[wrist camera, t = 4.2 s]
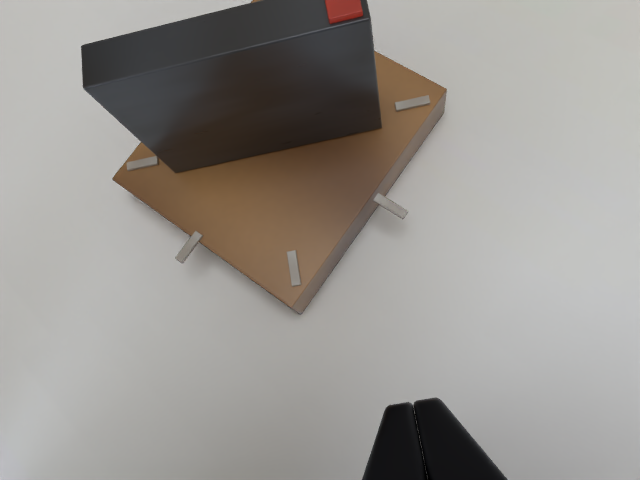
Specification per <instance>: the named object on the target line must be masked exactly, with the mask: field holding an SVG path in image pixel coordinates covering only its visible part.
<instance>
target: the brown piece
mask: <svg viewBox="0 0 640 480" xmlns="http://www.w3.org/2000/svg"><path fill="white" fill-rule="evenodd" d="M257 1H261V0H253V1H252V2H251V3H253V2H257ZM374 54H375V63H376V73H377V82H378V92H379V101H380V110H381V120H382V128H379V129H374V130H370V131H365V132H361V133H356V134H352V135H347V136H342V137H338V138H333V139H329V140H324V141H320V142H315V143H310V144H306V145H301V146H297V147H292V148H288V149H283V150H279V151H274V152H269V153H265V154H260V155H256V156H251V157H247V158H242V159H237V160H233V161H228V162H224V163H219V164H215V165H210V166H205V167H201V168H196V169H192V170H187V171H183V172H178V173H175V172H173V171H172V170H171V169H170V168H169V167H168V166H167V165H166V164H165V163H164V162H163V161H162V160H160V159H159V158H158V157H157V156H156V155H155V154H154V153H153V152H152V151H151V150H150V149H148V148H147V147H146V146H145V145H144V144H143V143H142V142H141V143H140V144H139V145H138V147H137V148H136V149H135V150H134V152H133V153H132V154H131V155H130V157H129V158H128V159H127V160H126V162H125V163H124V164H123V166H122V167H121V168H120V169H119V171H118V172H117V173H116V174H115V176H114V177H113V178H112V179H113V180H114V181H115V182H116V183H118V184H119V185H120V186H122V187H123V188H125V189H126V190H127V191H129V192H130V193H132V194H133V195H134V196H136V197H137V198H139V199H140V200H141V201H143V202H144V203H146V204H147V205H148V206H150V207H151V208H152V209H154V210H155V211H157V212H158V213H159V214H161V215H162V216H164V217H165V218H166V219H168V220H169V221H171V222H172V223H173V224H175V225H176V226H177V227H179V228H180V229H182V230H183V231H184V232H186V233H187V234H189V235H190V236H191V237H190V239H189V240H188V241H187V243H186V244H185V245H184V247H183V248H182V249H181V251H180V252H179V253H178V255H177V256H176V257H175V259H177V260H178V261H179V262H181V263H183V262H184V261H185V260H186V258H187V257H188V256H189V254H190V253H191V252H192V250H193V249H194V248H195V246H196V245H197V244H198V242H200V243H201V244H203V245H204V246H205V247H207V248H208V249H209V250H211V251H212V252H214V253H215V254H216V255H218V256H219V257H221V258H222V259H223V260H225V261H226V262H228V263H229V264H230V265H232V266H233V267H234V268H236V269H237V270H239V271H240V272H241V273H243V274H244V275H246V276H247V277H248V278H250V279H251V280H253V281H254V282H255V283H257V284H258V285H260V286H261V287H262V288H264V289H265V290H266V291H268V292H269V293H271V294H272V295H273V296H275V297H276V298H278V299H279V300H280V301H282V302H283V303H285V304H286V305H287V306H289V307H290V308H292V309H293V310H295V311H296V312H297V313H299V314H302V312H303V311H304V310H305V308H306V307H307V305H308V304H309V302H310V301H311V300H312V298H313V297H314V295H315V294H316V293H317V291H318V290H319V288H320V287H321V286H322V284H323V283H324V281H325V280H326V278H327V277H328V276H329V274H330V273H331V271H332V270H333V269H334V267H335V266H336V264H337V263H338V261H339V260H340V259H341V257H342V256H343V254H344V253H345V252H346V250H347V249H348V247H349V246H350V244H351V243H352V242H353V240H354V239H355V237H356V236H357V235H358V233H359V232H360V230H361V229H362V228H363V226H364V225H365V223H366V222H367V220H368V219H369V218H370V216H371V215H372V213H373V212H374V211H375V209H376V208H377V206H378V205H380V206H382V207H384V208H385V209H387V210H389V211H390V212H392V213H393V214H395V215H397V216H398V217H400V218H401V219H404V217H405V216H406V215H407V213H408V211H407V210H405V209H404V208H402V207H401V206H399V205H397V204H396V203H394V202H392V201H391V200H389V199H387V198H386V197H384V196H385V195H386V194H387V192H388V191H389V189H390V188H391V187H392V185H393V184H394V182H395V181H396V179H397V178H398V177H399V175H400V174H401V172H402V171H403V170H404V168H405V167H406V165H407V164H408V162H409V161H410V160H411V158H412V157H413V155H414V154H415V153H416V151H417V150H418V148H419V147H420V145H421V144H422V143H423V141H424V140H425V138H426V137H427V136H428V134H429V133H430V131H431V130H432V129H433V127H434V126H435V124H436V123H437V121H438V120H439V119H440V117H441V116H442V114H443V113H444V108H445V100H446V91H447V89H446V88H444V87H442V86H440V85H438V84H436V83H434V82H432V81H431V80H429V79H427V78H425V77H423V76H421V75H419V74H417V73H415V72H413V71H412V70H410V69H408V68H406V67H404V66H402V65H400V64H398V63H396V62H394V61H393V60H391V59H389V58H387V57H385V56H383V55H381V54H379V53H377V52H376V51H374Z"/></svg>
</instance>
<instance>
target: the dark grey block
mask: <svg viewBox="0 0 640 480" xmlns="http://www.w3.org/2000/svg"><path fill="white" fill-rule="evenodd" d="M81 51H82V75H83V88H84V90H85V91H86V92H88V93H89V94H90V95H91V96H92V97H93V98H94V99H95V100H96V101H97V102H98V103H100V104H101V105H102V106H103V107H104V108H105V109H106V110H107V111H108V112H109V113H110V114H111V115H113V116H114V117H115V118H116V119H117V120H118V121H119V122H120V123H121V124H122V125H123V126H125V127H126V128H127V129H128V130H129V131H130V132H131V133H132V134H133V135H134V136H135V137H137V138H138V139H139V140H140V141H141V142H142V143H143V144H144V145H145V146H146V147H147V148H148V149H150V150H151V151H152V152H153V153H154V154H155V155H156V156H157V157H158V158H159V159H160V160H162V161H163V162H164V163H165V164H166V165H167V166H168V167H169V168H170V169H171V170H172V171H173V172H175V173H178V172H183V171H187V170H192V169H196V168H201V167H205V166H210V165H215V164H219V163H224V162H228V161H233V160H237V159H242V158H247V157H251V156H256V155H260V154H265V153H269V152H274V151H279V150H283V149H288V148H292V147H297V146H301V145H306V144H310V143H315V142H320V141H324V140H329V139H333V138H338V137H342V136H347V135H352V134H356V133H361V132H365V131H370V130H374V129H379V128H382V120H381V110H380V101H379V92H378V82H377V73H376V63H375V54H374V44H373V35H372V25H371V17H370V13H369V8H368V4H367V0H261V1H257V2H253V3H249V4H245V5H241V6H237V7H233V8H229V9H225V10H221V11H217V12H213V13H209V14H205V15H201V16H197V17H193V18H189V19H185V20H181V21H177V22H173V23H169V24H165V25H161V26H157V27H153V28H149V29H145V30H141V31H137V32H133V33H129V34H125V35H121V36H117V37H113V38H109V39H105V40H101V41H97V42H93V43H89V44H85V45H82V46H81Z"/></svg>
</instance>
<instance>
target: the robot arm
mask: <svg viewBox="0 0 640 480" xmlns="http://www.w3.org/2000/svg"><path fill="white" fill-rule="evenodd" d="M414 411H415V413H414ZM415 416H416V418H415ZM416 421H417V423H416ZM417 427H418V428H417ZM418 432H419V433H418ZM419 437H420V438H419ZM420 442H421V443H420ZM421 447H422V448H421ZM422 452H423V453H422ZM423 457H424V458H423ZM424 462H425V463H424ZM425 467H426V468H425ZM426 472H427V474H426ZM427 477H428V479H427ZM362 480H507V478H506V477H505V476H504V475H503V474H502V472H501V471H500V470H499V469H498V468H497V466H496V465H495V464H494V463H493V462H492V460H491V459H490V458H489V457H488V456H487V454H486V453H485V452H484V451H483V450H482V448H481V447H480V446H479V445H478V444H477V442H476V441H475V440H474V439H473V438H472V436H471V435H470V434H469V433H468V432H467V430H466V429H465V428H464V427H463V426H462V424H461V423H460V422H459V421H458V420H457V418H456V417H455V416H454V415H453V414H452V412H451V411H450V410H449V409H448V408H447V406H446V405H445V404H444V403H443V402H442V401H441V400H440V399H439V398H430V399H424V400H418V401H416V402H414V408H413V405H412V404H411V403H409V402H406V403H400V404H394V405H389V406H387V407H386V409H385V411H384V414H383V417H382V420H381V423H380V426H379V430H378V433H377V436H376V439H375V442H374V445H373V448H372V451H371V454H370V457H369V460H368V463H367V466H366V469H365V472H364V476H363V479H362Z"/></svg>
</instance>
